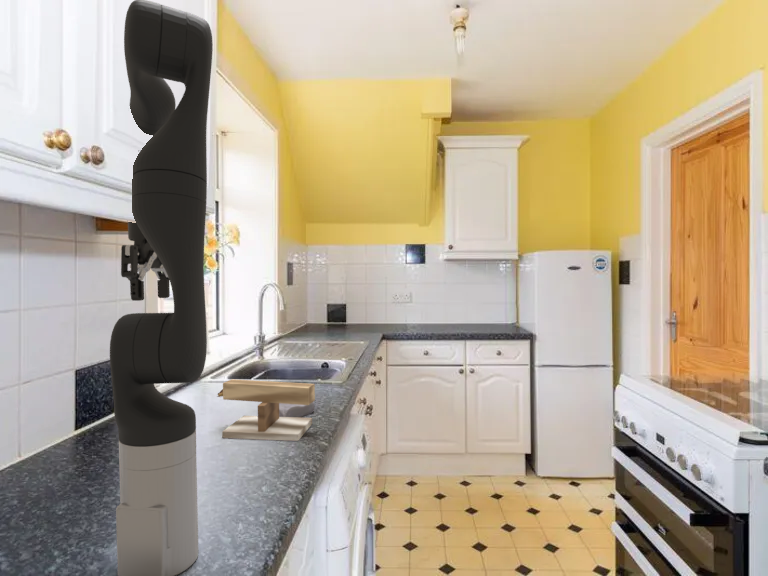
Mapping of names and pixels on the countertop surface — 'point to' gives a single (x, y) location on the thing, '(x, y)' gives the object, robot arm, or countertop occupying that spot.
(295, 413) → the stone block
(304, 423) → the stand
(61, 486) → the countertop surface
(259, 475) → the countertop surface
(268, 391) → the oak batten
